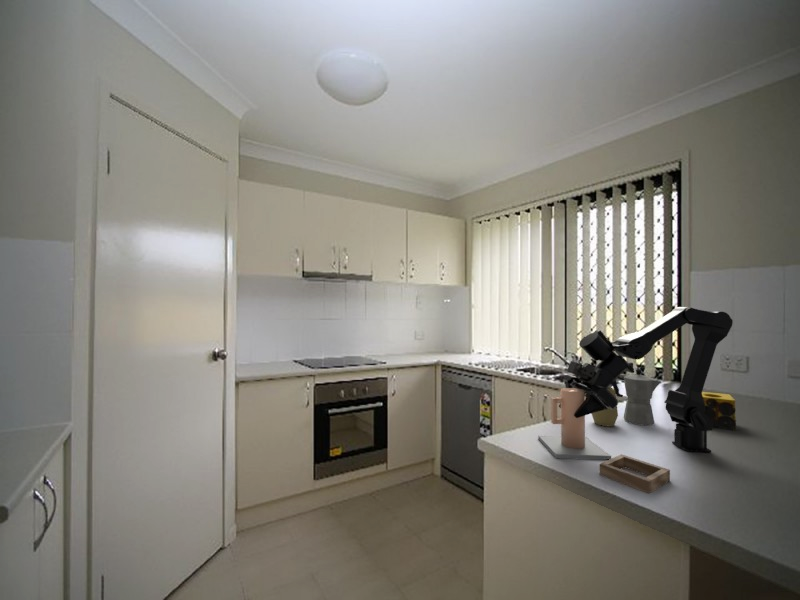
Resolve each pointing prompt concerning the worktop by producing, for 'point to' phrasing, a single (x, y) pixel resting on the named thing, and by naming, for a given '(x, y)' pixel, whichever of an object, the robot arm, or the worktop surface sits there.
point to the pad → (564, 452)
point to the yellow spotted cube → (720, 410)
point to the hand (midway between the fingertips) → (567, 412)
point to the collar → (648, 484)
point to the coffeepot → (638, 397)
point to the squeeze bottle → (606, 414)
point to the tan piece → (569, 417)
